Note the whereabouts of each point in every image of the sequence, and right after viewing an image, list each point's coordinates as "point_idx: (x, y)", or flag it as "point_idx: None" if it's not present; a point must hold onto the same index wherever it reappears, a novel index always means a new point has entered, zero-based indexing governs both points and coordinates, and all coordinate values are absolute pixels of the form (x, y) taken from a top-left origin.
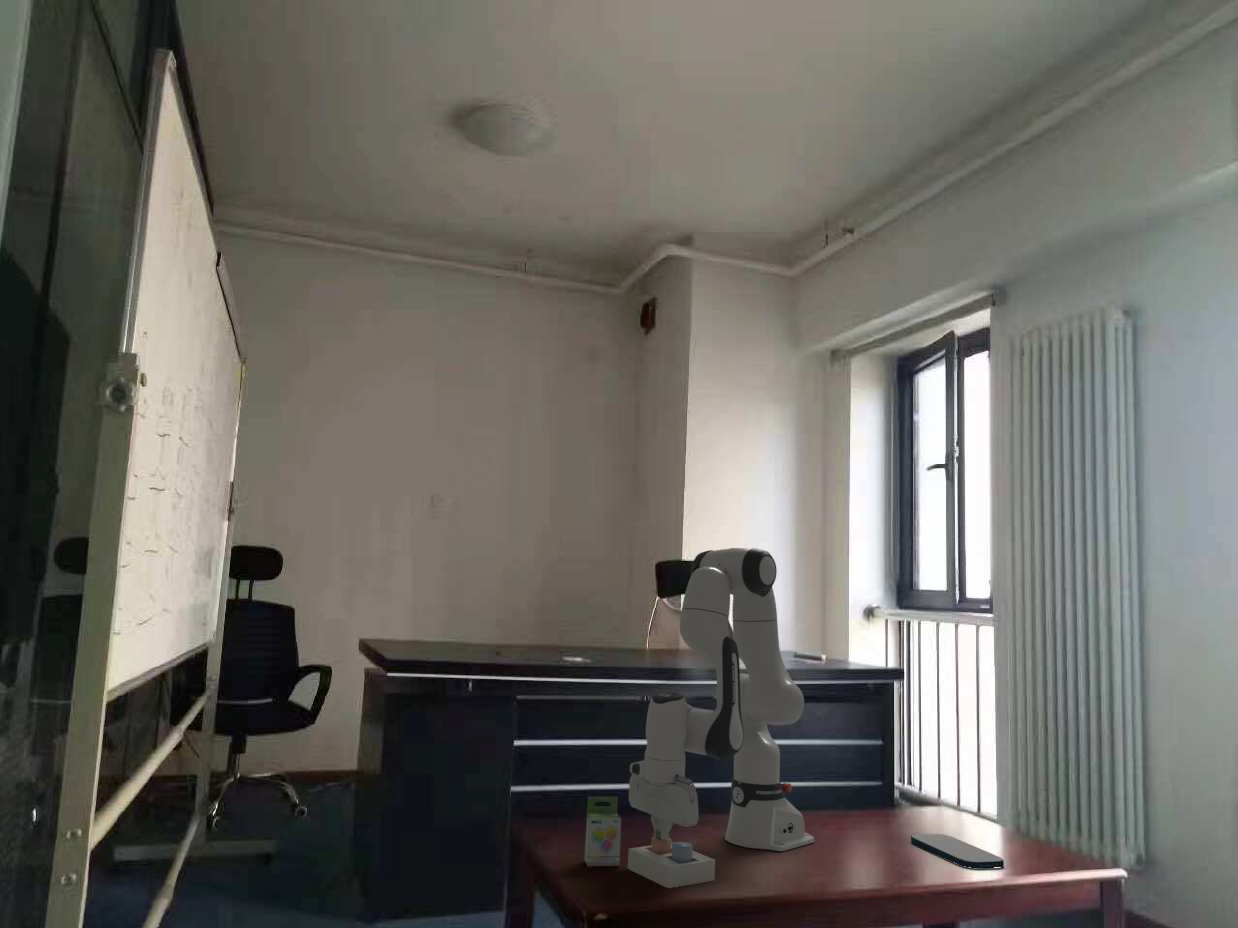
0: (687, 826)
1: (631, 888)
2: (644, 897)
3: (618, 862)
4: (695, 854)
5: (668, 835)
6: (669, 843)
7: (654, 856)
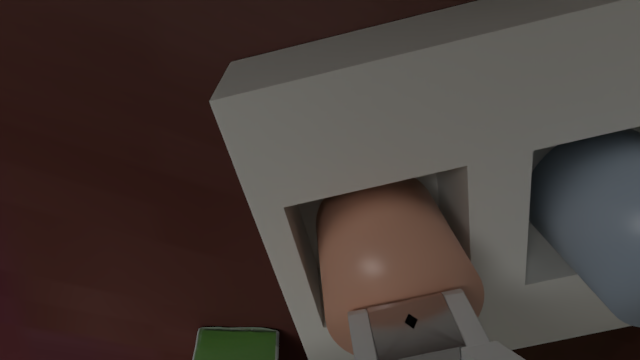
0: None
1: (532, 349)
2: (628, 338)
3: (277, 344)
4: (591, 63)
5: (472, 311)
6: (473, 266)
7: (492, 323)
